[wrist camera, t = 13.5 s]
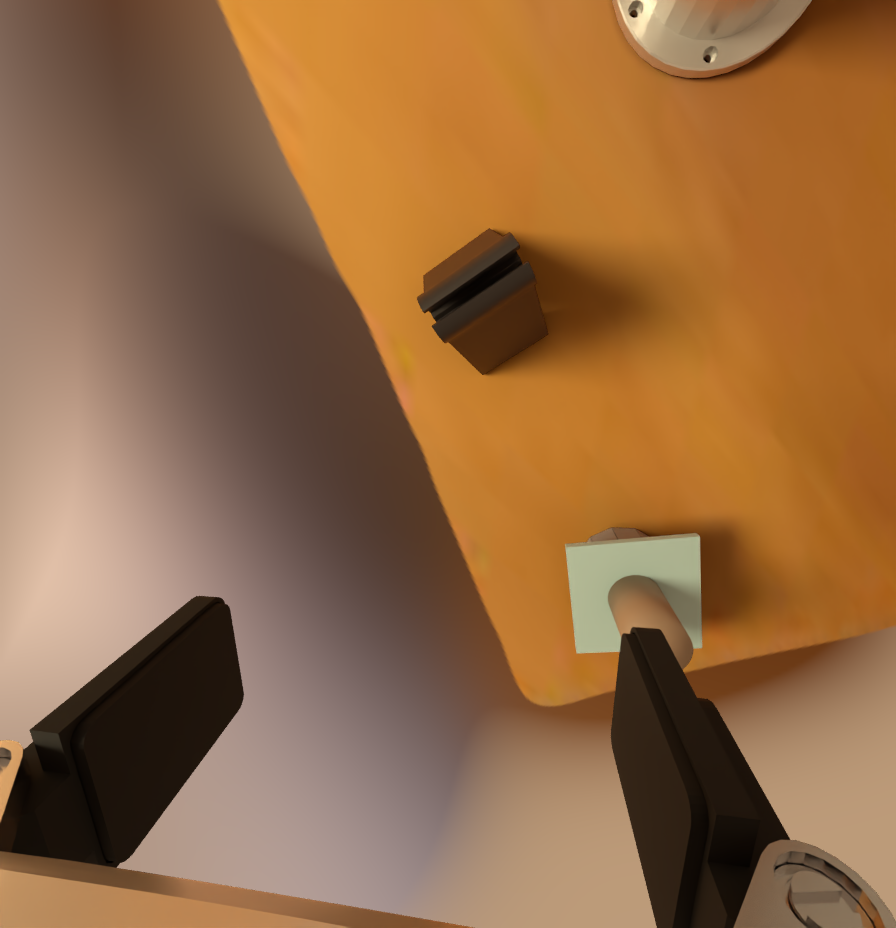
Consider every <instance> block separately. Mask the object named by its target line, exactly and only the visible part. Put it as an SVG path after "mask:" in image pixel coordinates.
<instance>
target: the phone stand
mask: <svg viewBox="0 0 896 928" xmlns="http://www.w3.org/2000/svg"><path fill="white" fill-rule="evenodd" d="M519 248H520V246H519V244H518V242H517V241H516V239H515V238H514V236H513V235H512V234H511V233H510V232H509V233H508V234H506V235H505V236H504V237H502V236H501V235H499V234H498V233H496V232H494V231H493V230H491V229H488V230H486V231H485V232H483V233H482V234H481V235H479V236H478V237H477V238H475V239H474V240H472V241H471V242H470V243H468V244H467V245H465V246H464V247H463V248H461V249H460V250H458V251H457V252H456V253H454V254H453V255H451V256H450V257H449V258H447V259H446V260H444V261H443V262H442V263H440V264H439V265H437V266H436V267H435V268H433V269H432V270H430V271H429V272H428V273H426V274H425V275H423V279H424V293H423V294H421V295H420V296H418V297H417V300H418V303H419V305H420V307H421V309H422V311H423V312H424V313H426V312H428V311H429V312H430V313H431V314H432V316H433V318H434V319H435V321H436V323H435V324H434V325H432V327H433V329H434V330H435V332H436V333H437V335H438V336H439V337H440V338H441V340H442V341H443V342H444V343H447V342H449V343H450V344H451V345H452V346H453V347H454V348H455V349H456V350H457V351H458V352H459V353H460V354H462V355H463V356H464V357H465V358H466V359H467V360H468V361H469V362H470V363H471V364H472V365H473V366H474V367H475V368H476V369H477V370H478V371H479V372H480V373H481V374H482V375H484V374H485V373H487V372H489V371H490V370H492V369H493V368H495V367H497V366H498V365H500V364H501V363H503V362H505V361H506V360H508V359H509V358H511V357H513V356H514V355H516V354H517V353H519V352H521V351H522V350H524V349H526V348H527V347H529V346H530V345H532V344H534V343H535V342H537V341H538V340H540V339H542V338H543V337H545V336H546V335H548V331H547V328H546V324H545V321H544V317H543V314H542V310H541V307H540V303H539V300H538V296H537V293H536V289H535V284H537V281H536V278H535V275H534V273H533V270H532V268H531V266H530V264H529V262H528V261H526V262H525V263H524V264H522V261H521V259H520V257H519V256H518V254H517V251H516V250H518V249H519Z"/></svg>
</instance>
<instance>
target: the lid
mask: <svg viewBox="0 0 896 928" xmlns="http://www.w3.org/2000/svg"><path fill="white" fill-rule="evenodd" d="M565 547H566V557H567V567H568V577H569V587H570V596H571V606H572V616H573V626H574V636H575V646H576V652H577V653H596V652H620V645H621V637H622V634H623V633H628V634H630V631H631V628H632V627H641V628H655V629H660V630H661V631H662V632H663V634H664V636H665V638H666V640H667V642H668V643H669V645H670V647H671V649H672V651H673V653H674V655H675V657H676V659H677V661H678V663H679V664H680V666H681V668H682V669H683V668H685V667H686V666H687V665H688V663H689V662H690V660H691V658H692V655H693V648H702V619H701V569H700V536H699V535H698V534H697V533H690V534H678V535H666V536H654V537H643V538H631V539H619V540H607V541H595V542H583V543H571V544H565Z"/></svg>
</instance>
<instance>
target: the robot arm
mask: <svg viewBox="0 0 896 928" xmlns="http://www.w3.org/2000/svg"><path fill="white" fill-rule="evenodd" d="M612 1H613V6H614V9H615V13H616V16H617V20H618V23H619V25H620V27H621V29H622V31H623V33H624V35H625V37H626V39H627V41H628V43H629V44H630V45H631V46H632V48H633V49H634V50H635V51H636V52H637V54H638V55H639V56H640V57H641V58H643V59H644V60H645V61H646V62H648V63H649V64H650V65H652V66H653V67H655V68H657V69H659V70H661V71H663V72H666V73H668V74H670V75H675V76H680V77H686V78H704V77H711V76H715V75H720V74H724V73H728V72H730V71H732V70H734V69H737V68H739V67H741V66H743V65H745V64H748V63H749V62H751V61H752V60H754V59H755V58H757V57H758V56H760V55H761V54H763V53H764V52H765V51H767V50H768V49H769V48H770V47H771V46H772V45H773V44H774V43H776V42H777V41H778V40H779V39H780V38H781V37H782V36H783V35H784V34H785V33H786V32H787V31H788V30H789V28H790V27H791V26H792V25H793V24H794V23H795V22H796V20H797V19H798V18H799V17H800V16H801V15H802V13H803V12H804V11H805V9H806V8H807V6H808V5H809V4H810V2H811V1H812V0H612ZM630 15H634V16H635V17H636V18H633V17H631V16H630ZM703 59H707V60H708V63H706V62H705V61H704V60H703ZM243 696H244V692H243V686H242V680H241V673H240V667H239V661H238V655H237V649H236V643H235V637H234V631H233V625H232V619H231V613H230V608H229V606H228V605H226V604H225V603H224V601H223V599H222V598H219V597H206V596H196V597H194V598H193V599H191V600H190V601H189V602H187V603H186V604H185V605H184V606H183V607H181V608H180V609H179V610H178V611H176V612H175V613H174V614H173V615H171V616H170V617H169V618H168V619H166V620H165V621H164V622H163V623H162V624H160V625H159V626H158V627H157V628H155V629H154V630H153V631H152V632H150V633H149V634H148V635H147V636H145V637H144V638H143V639H142V640H141V641H139V642H138V643H137V644H136V645H134V646H133V647H132V648H131V649H129V650H128V651H127V652H126V653H124V654H123V655H122V656H121V657H119V658H118V659H117V660H116V661H114V662H113V663H112V664H111V665H109V666H108V667H107V668H106V669H105V670H103V671H102V672H101V673H100V674H98V675H97V676H96V677H95V678H93V679H92V680H91V681H90V682H88V683H87V684H86V685H85V686H83V687H82V688H81V689H80V690H79V691H77V692H76V693H75V694H74V695H72V696H71V697H70V698H69V699H68V700H66V701H65V702H64V703H62V704H61V705H60V706H59V707H58V708H56V709H55V710H54V711H53V712H51V713H50V714H49V715H48V716H47V717H45V718H44V719H43V720H42V721H40V722H39V723H38V724H37V725H35V726H34V727H33V728H32V729H30V733H31V736H32V739H33V743H31V744H30V745H29V746H28V747H27V748H25V749H23V747H22V746H21V745H20V744H19V742H15V741H11V740H3V741H0V928H473V927H468V926H462V925H456V924H450V923H445V922H439V921H433V920H427V919H422V918H415V917H410V916H404V915H398V914H393V913H387V912H381V911H375V910H370V909H364V908H358V907H352V906H346V905H340V904H334V903H328V902H322V901H316V900H310V899H304V898H298V897H292V896H286V895H280V894H274V893H268V892H262V891H255V890H250V889H244V888H238V887H232V886H226V885H219V884H214V883H208V882H202V881H196V880H189V879H183V878H176V877H170V876H163V875H158V874H152V873H145V872H139V871H132V870H126V869H119V868H117V866H118V865H119V864H120V863H122V862H124V861H126V860H127V859H128V858H129V857H130V856H131V855H132V854H133V853H134V852H135V850H136V849H137V847H138V846H139V845H140V843H141V842H142V840H143V839H144V838H145V837H146V835H147V834H148V832H149V831H150V830H151V828H152V827H153V826H154V824H155V823H156V822H157V820H158V819H159V818H160V816H161V815H162V813H163V812H164V811H165V809H166V808H167V807H168V805H169V804H170V803H171V801H172V800H173V798H174V797H175V796H176V795H177V793H178V792H179V790H180V789H181V788H182V786H183V785H184V783H185V782H186V781H187V779H188V778H189V777H190V776H191V774H192V773H193V772H194V770H195V769H196V767H197V766H198V765H199V763H200V762H201V761H202V759H203V758H204V757H205V755H206V754H207V753H208V751H209V750H210V748H211V747H212V746H213V744H214V743H215V742H216V740H217V739H218V738H219V736H220V735H221V734H222V732H223V731H224V729H225V728H226V727H227V725H228V724H229V723H230V721H231V720H232V719H233V717H234V716H235V714H236V713H237V712H238V710H239V709H240V707H241V705H242V701H243ZM611 742H612V749H613V753H614V757H615V761H616V765H617V769H618V773H619V777H620V781H621V785H622V789H623V793H624V797H625V801H626V805H627V809H628V813H629V817H630V821H631V825H632V829H633V833H634V837H635V841H636V845H637V849H638V853H639V857H640V861H641V865H642V869H643V873H644V877H645V881H646V885H647V889H648V893H649V897H650V901H651V905H652V909H653V913H654V917H655V921H656V926H657V928H896V921H895V919H894V917H893V915H892V913H891V912H890V910H889V909H888V908H887V906H886V905H885V903H884V902H883V901H882V899H881V898H880V897H879V895H878V894H877V892H875V890H874V889H873V888H871V886H869V884H868V883H867V882H866V881H865V880H863V879H862V877H860V875H859V874H858V873H856V872H855V871H854V870H852V869H851V868H850V867H848V866H847V865H846V864H844V863H843V862H842V861H840V860H839V859H838V858H836V857H835V856H833V855H831V854H829V853H827V852H825V851H823V850H821V849H820V848H818V847H816V846H813V845H810V844H807V843H803V842H800V841H797V840H790V838H789V837H788V835H787V833H786V831H785V830H784V828H783V826H782V824H781V822H780V820H779V819H778V817H777V815H776V814H775V812H774V810H773V808H772V806H771V804H770V803H769V801H768V799H767V797H766V796H765V794H764V792H763V790H762V788H761V787H760V785H759V783H758V781H757V780H756V778H755V776H754V774H753V772H752V771H751V769H750V767H749V765H748V763H747V762H746V760H745V758H744V756H743V755H742V753H741V751H740V749H739V747H738V746H737V744H736V742H735V740H734V738H733V737H732V735H731V733H730V731H729V730H728V728H727V726H726V724H725V723H724V721H723V719H722V717H721V716H720V714H719V712H718V710H717V708H716V707H715V706H714V704H713V703H712V702H711V701H710V700H708V699H702V698H697V697H696V695H695V693H694V691H693V689H692V687H691V686H690V684H689V682H688V680H687V678H686V676H685V674H684V672H683V670H682V668H681V666H680V664H679V663H678V661H677V659H676V657H675V655H674V653H673V651H672V649H671V647H670V645H669V643H668V642H667V640H666V638H665V636H664V634H663V632H662V631H661V630H660V629H655V628H641V627H632V628H631V631H630V634H628V633H623V634H622V637H621V645H620V654H619V663H618V672H617V682H616V691H615V700H614V710H613V718H612V728H611Z"/></svg>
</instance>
